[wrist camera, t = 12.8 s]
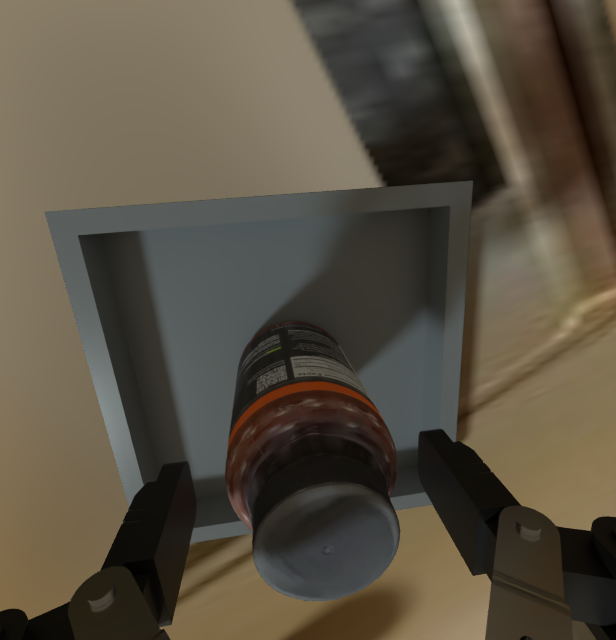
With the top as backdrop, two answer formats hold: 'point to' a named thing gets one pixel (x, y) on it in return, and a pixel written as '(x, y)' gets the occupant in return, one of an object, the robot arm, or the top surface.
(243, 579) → the top surface
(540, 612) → the robot arm
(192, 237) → the tray
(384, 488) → the supplement bottle
